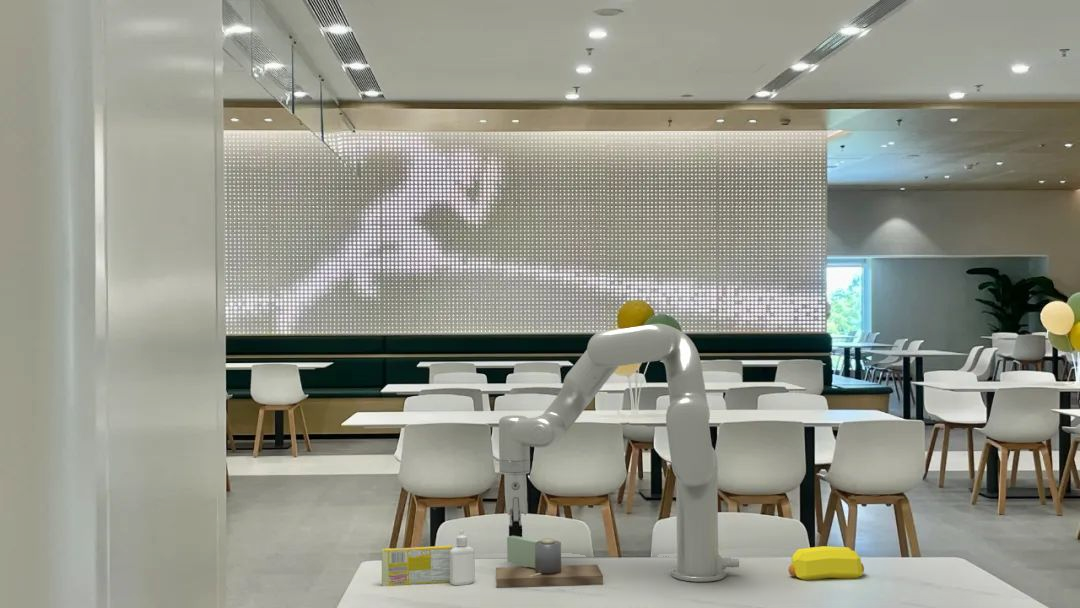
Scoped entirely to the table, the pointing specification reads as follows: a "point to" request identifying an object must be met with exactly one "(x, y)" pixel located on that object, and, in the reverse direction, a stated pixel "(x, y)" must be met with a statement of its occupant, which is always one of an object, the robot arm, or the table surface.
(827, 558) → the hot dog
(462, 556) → the eye dropper bottle
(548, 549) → the grey and green piece
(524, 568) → the post base
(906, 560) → the table surface
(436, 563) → the candy box
